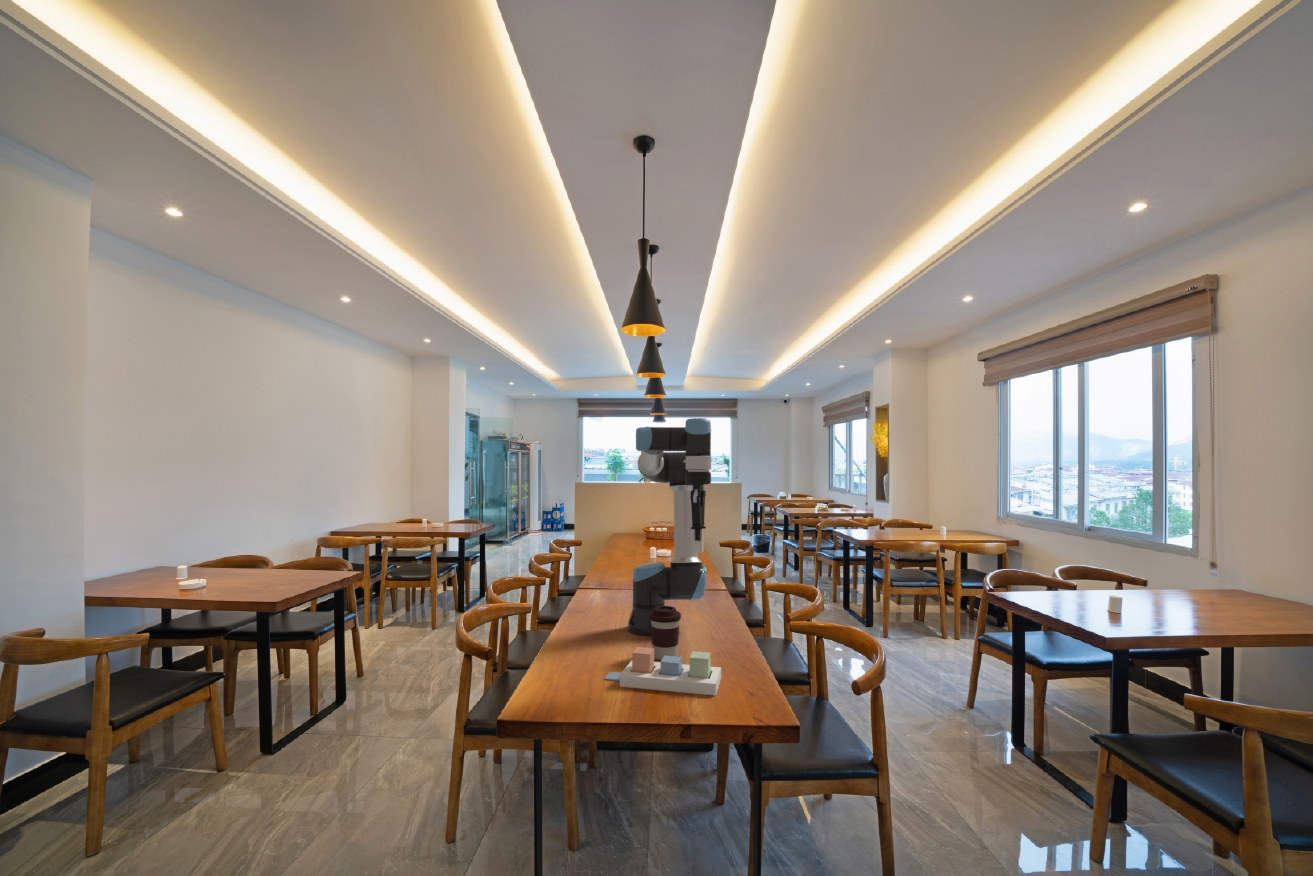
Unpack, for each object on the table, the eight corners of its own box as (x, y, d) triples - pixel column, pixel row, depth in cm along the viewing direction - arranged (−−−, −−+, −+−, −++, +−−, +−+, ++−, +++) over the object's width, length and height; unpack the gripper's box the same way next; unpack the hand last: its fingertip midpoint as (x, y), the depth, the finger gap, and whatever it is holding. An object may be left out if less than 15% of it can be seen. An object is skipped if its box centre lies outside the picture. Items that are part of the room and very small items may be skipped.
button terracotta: (637, 665, 160) (637, 647, 160) (654, 667, 159) (654, 648, 159) (632, 672, 155) (632, 652, 155) (649, 673, 154) (649, 654, 154)
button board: (631, 670, 164) (631, 659, 164) (721, 678, 158) (721, 667, 158) (619, 686, 152) (619, 675, 152) (715, 695, 146) (715, 684, 146)
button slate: (664, 674, 158) (664, 655, 158) (682, 675, 157) (682, 657, 157) (660, 681, 153) (660, 661, 153) (678, 682, 152) (678, 663, 152)
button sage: (692, 670, 156) (692, 651, 156) (710, 672, 155) (710, 652, 155) (689, 677, 151) (689, 657, 151) (708, 678, 150) (708, 659, 150)
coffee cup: (678, 664, 169) (678, 613, 169) (645, 661, 171) (646, 611, 171) (683, 653, 178) (683, 605, 179) (652, 650, 180) (652, 603, 181)
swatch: (610, 673, 161) (610, 671, 161) (626, 674, 160) (626, 673, 160) (604, 679, 157) (604, 678, 157) (621, 681, 155) (621, 679, 155)
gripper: (689, 470, 173) (689, 547, 172) (681, 471, 160) (681, 554, 159) (713, 470, 171) (714, 548, 170) (707, 471, 158) (708, 555, 157)
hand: (698, 551), depth 165 cm, fingers closed
